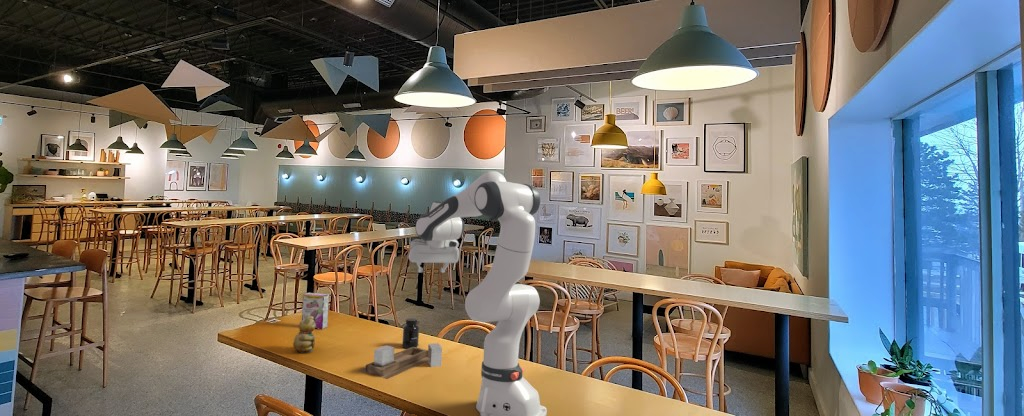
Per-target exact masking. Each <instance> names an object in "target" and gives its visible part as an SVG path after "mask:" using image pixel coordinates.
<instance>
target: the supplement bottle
mask: <svg viewBox="0 0 1024 416" xmlns="http://www.w3.org/2000/svg"><path fill="white" fill-rule="evenodd" d="M417 324H418V319H417V318H413V317H412V318H406V319H405V325H404V326H403V329H402V347H403V349H408V348H411V347H416V348H419V347H418V346H419V335H420V327H419V325H417Z"/></svg>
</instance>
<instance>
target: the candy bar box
mask: <svg viewBox="0 0 1024 416" xmlns="http://www.w3.org/2000/svg"><path fill="white" fill-rule="evenodd" d="M329 299H330V294H327V293H326V294H325V293H316V292H305V293H303V294H302V306H301V307H302V310H301V311H302V314H301V321H302V320H304V318H305V317H306V315H308V314H310V316H313V317H314V319H313V320H314V322H315V323H316V327H315V328H319V329H318V330H324V329H326V328H328V322H329V321H328V320H329V303H330V301H329ZM325 327H326V328H325ZM323 328H324V329H323Z"/></svg>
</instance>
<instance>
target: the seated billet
mask: <svg viewBox="0 0 1024 416" xmlns="http://www.w3.org/2000/svg"><path fill="white" fill-rule="evenodd" d="M373 350H374V351H373V352H374V353H373V357H374V358H373V362H374V366H377V367H381V368H383V367H385V366H388V365H390V364H393V363H394V354H395V347H394V346H391V345H383V346H380V347H378V348H375V349H373Z"/></svg>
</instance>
